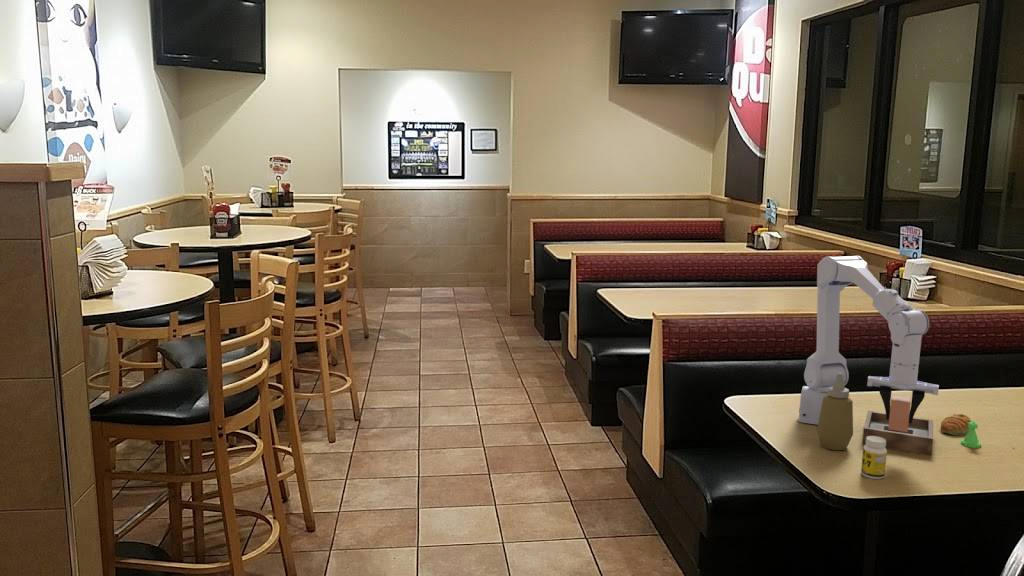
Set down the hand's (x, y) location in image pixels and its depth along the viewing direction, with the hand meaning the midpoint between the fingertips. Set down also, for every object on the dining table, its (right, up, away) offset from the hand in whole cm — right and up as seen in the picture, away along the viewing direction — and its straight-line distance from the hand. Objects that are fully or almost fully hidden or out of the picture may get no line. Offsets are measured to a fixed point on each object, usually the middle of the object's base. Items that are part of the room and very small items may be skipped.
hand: (898, 420), depth 187 cm
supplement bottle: (-10, -11, -8) cm, 17 cm away
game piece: (+23, -8, +11) cm, 27 cm away
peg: (0, -2, 0) cm, 2 cm away
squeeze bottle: (-11, -8, +9) cm, 16 cm away
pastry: (+25, -6, +21) cm, 33 cm away
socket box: (+6, -7, +14) cm, 17 cm away
